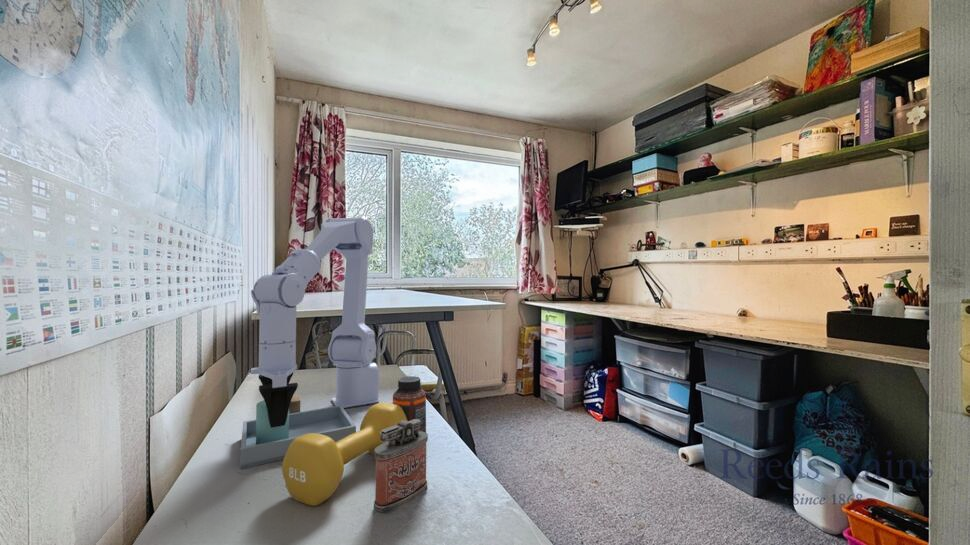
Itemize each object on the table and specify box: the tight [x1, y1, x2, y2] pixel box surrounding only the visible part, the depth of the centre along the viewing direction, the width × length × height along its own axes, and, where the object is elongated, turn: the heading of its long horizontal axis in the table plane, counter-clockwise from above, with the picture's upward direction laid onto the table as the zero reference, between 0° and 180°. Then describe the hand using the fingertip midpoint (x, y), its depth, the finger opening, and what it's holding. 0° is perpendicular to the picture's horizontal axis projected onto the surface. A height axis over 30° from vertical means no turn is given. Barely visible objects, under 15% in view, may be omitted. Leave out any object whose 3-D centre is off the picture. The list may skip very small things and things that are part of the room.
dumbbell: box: [281, 401, 408, 507], centre depth 56 cm, size 19×9×8 cm, turn 154°
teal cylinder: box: [255, 400, 289, 445], centre depth 65 cm, size 5×5×7 cm
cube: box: [289, 393, 301, 414], centre depth 75 cm, size 5×5×5 cm
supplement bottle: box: [392, 375, 427, 433], centre depth 67 cm, size 6×6×11 cm
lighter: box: [373, 419, 429, 515], centre depth 49 cm, size 8×3×10 cm, turn 141°
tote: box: [240, 405, 357, 470], centre depth 67 cm, size 17×13×3 cm
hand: (276, 418), depth 65 cm, fingers open, 7 cm apart
